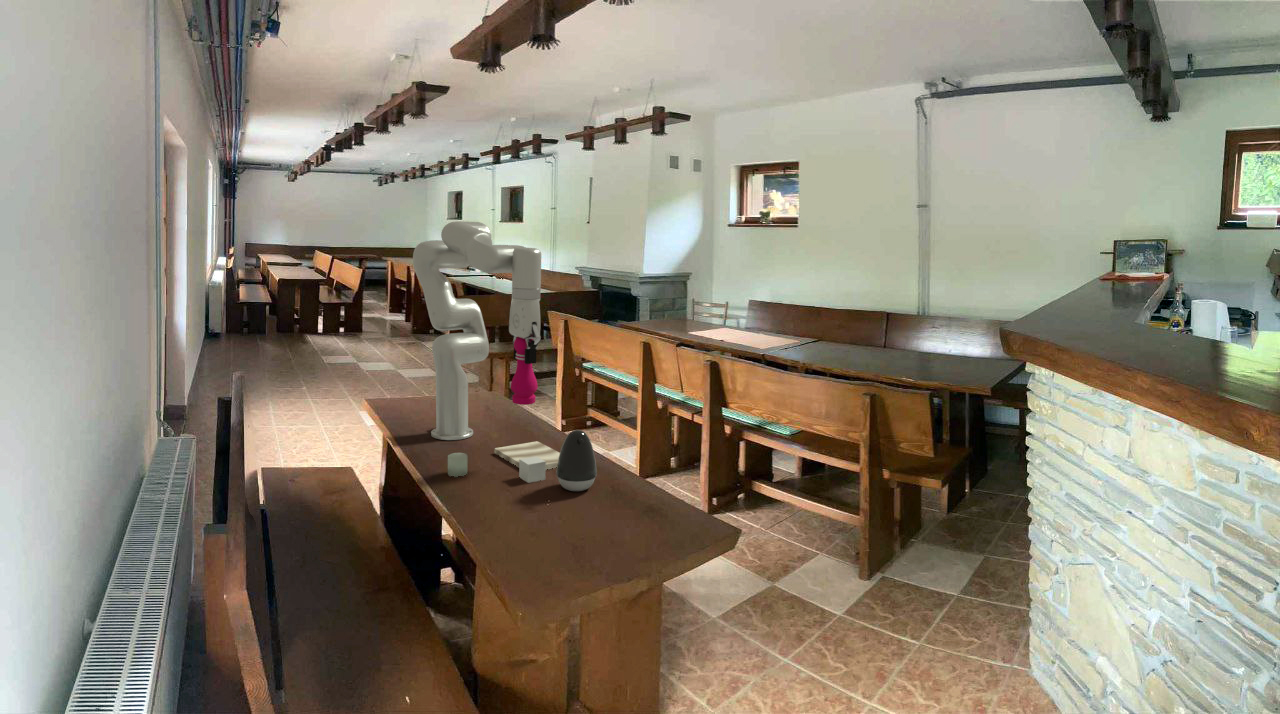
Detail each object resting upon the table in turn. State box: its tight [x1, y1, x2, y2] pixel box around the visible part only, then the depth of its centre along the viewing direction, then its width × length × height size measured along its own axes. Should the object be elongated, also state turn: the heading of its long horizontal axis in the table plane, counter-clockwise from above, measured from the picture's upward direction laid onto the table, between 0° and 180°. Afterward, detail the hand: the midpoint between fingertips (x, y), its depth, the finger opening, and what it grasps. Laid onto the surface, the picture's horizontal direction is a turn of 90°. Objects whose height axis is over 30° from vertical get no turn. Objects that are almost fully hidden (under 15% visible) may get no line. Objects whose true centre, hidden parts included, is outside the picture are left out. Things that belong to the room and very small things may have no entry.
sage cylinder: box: [447, 452, 468, 478], centre depth 194 cm, size 5×5×5 cm
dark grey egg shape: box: [555, 429, 598, 492], centre depth 186 cm, size 10×10×15 cm
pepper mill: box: [510, 336, 539, 406], centre depth 200 cm, size 7×7×20 cm
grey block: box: [518, 457, 547, 484], centre depth 193 cm, size 5×5×5 cm
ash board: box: [494, 440, 560, 471], centre depth 209 cm, size 20×14×2 cm
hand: (524, 360), depth 200 cm, fingers closed on pepper mill, 5 cm apart
